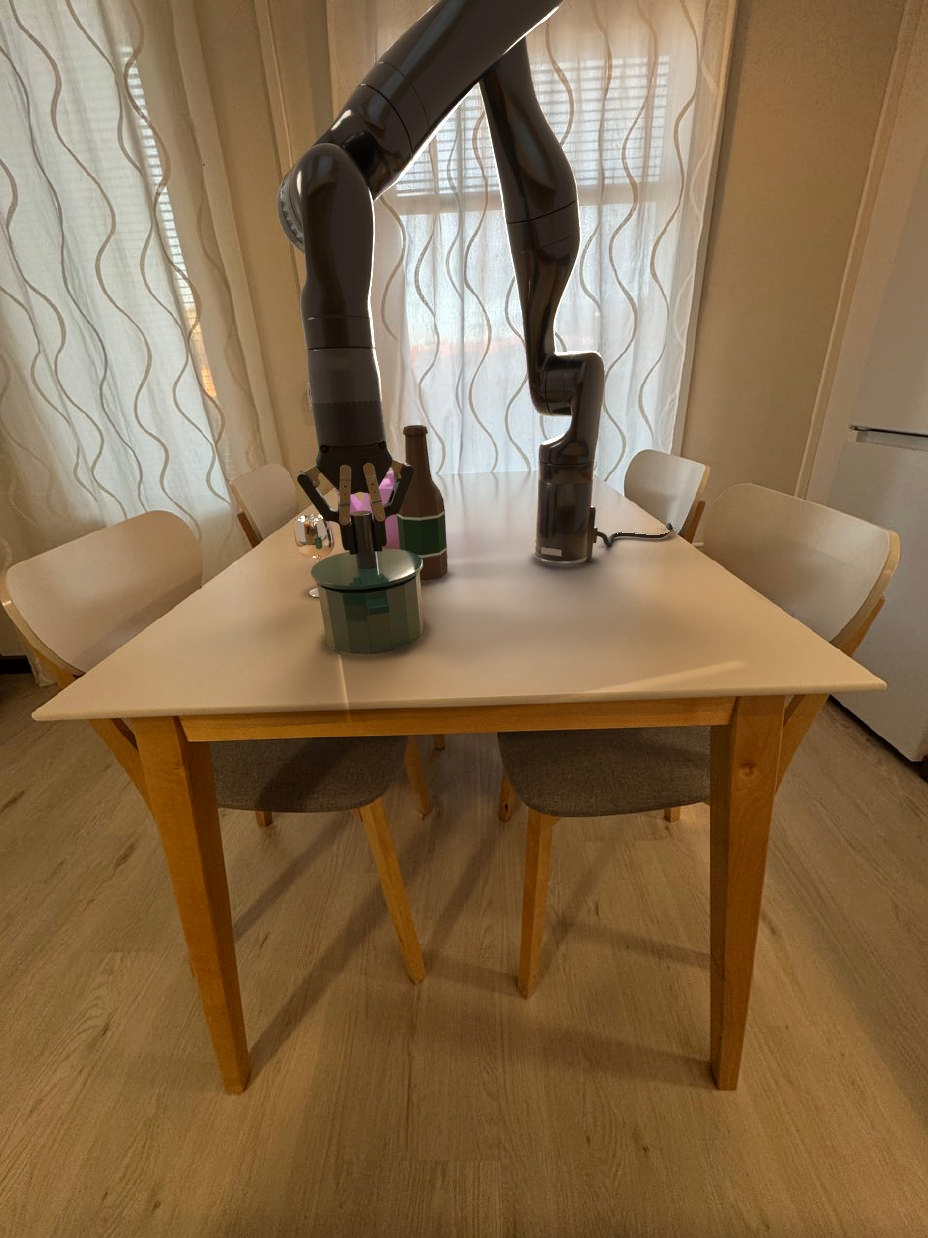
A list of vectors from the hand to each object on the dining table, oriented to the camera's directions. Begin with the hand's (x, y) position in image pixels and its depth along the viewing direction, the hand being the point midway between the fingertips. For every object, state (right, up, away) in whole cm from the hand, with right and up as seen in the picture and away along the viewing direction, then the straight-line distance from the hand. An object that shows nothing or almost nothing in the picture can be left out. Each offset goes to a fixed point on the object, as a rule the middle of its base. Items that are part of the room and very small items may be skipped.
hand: (365, 550), depth 61 cm
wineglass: (-11, -4, +19) cm, 22 cm away
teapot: (-2, +6, +40) cm, 41 cm away
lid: (0, -2, +1) cm, 2 cm away
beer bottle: (+5, -1, +24) cm, 25 cm away
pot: (0, -10, +5) cm, 11 cm away
